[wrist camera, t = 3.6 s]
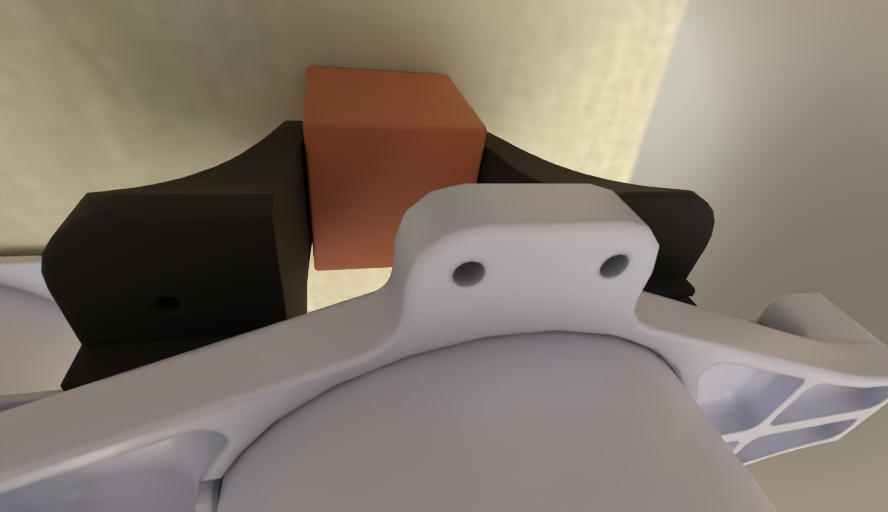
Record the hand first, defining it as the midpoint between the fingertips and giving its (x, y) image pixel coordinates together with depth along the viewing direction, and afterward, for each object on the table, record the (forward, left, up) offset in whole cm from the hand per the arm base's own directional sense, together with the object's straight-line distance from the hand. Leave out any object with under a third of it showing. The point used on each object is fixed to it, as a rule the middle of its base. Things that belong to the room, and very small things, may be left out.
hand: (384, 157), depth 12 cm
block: (0, 0, -1) cm, 1 cm away
